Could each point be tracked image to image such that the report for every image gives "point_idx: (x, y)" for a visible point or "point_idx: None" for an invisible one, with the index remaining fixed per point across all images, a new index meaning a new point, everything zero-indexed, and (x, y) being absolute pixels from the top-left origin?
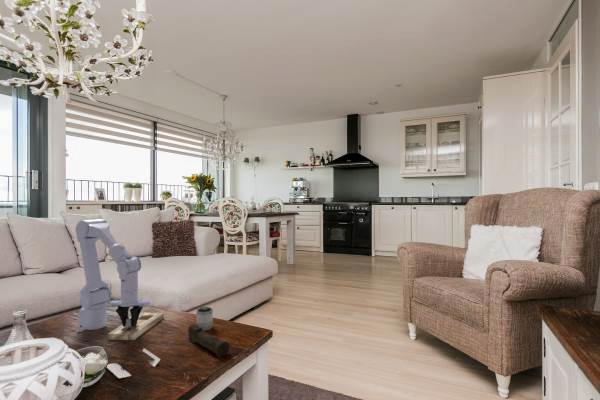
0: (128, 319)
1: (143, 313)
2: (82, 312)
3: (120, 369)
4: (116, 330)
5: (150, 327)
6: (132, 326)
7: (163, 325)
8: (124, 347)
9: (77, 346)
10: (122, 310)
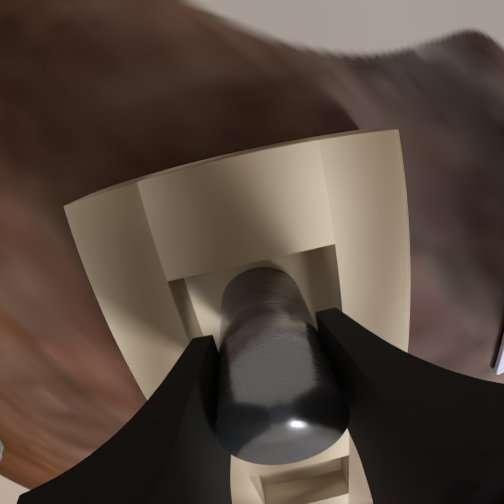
0: (251, 384)
1: (362, 500)
2: None
3: None
4: (372, 237)
5: None
6: (206, 336)
7: None
8: (106, 82)
9: (493, 47)
10: (429, 496)
